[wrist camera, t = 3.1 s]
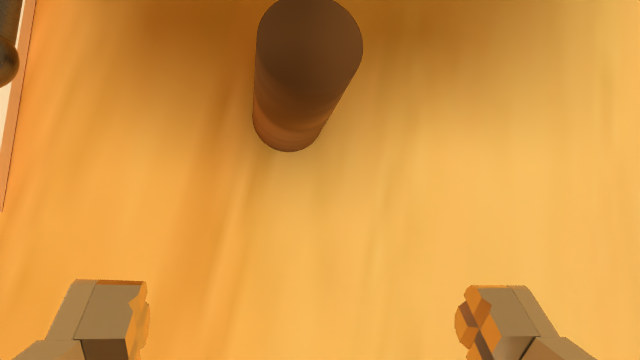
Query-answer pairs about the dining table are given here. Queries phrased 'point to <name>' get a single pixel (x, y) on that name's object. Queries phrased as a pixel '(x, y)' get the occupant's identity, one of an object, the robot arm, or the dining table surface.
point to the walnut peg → (302, 69)
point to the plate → (13, 95)
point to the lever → (9, 40)
